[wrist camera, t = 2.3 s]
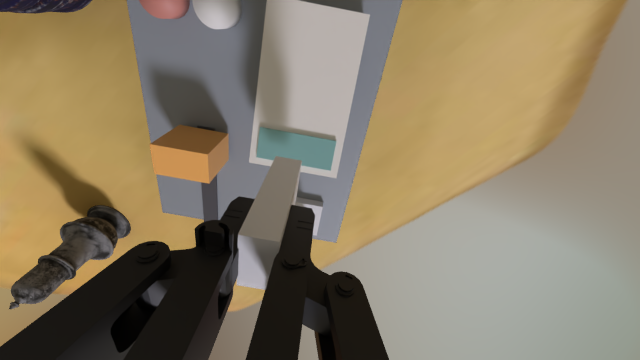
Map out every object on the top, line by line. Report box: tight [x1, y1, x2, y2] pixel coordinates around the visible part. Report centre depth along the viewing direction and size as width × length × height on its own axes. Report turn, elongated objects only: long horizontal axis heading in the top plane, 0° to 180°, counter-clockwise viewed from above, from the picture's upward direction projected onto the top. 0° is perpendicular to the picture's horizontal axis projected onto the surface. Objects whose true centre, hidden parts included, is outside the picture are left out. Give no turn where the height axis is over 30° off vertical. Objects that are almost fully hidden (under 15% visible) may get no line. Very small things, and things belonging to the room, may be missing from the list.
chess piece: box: [9, 205, 131, 309], centre depth 29 cm, size 6×6×12 cm
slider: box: [150, 125, 229, 184], centre depth 21 cm, size 2×4×4 cm, turn 80°
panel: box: [127, 0, 402, 243], centre depth 23 cm, size 22×18×6 cm
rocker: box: [249, 0, 370, 178], centre depth 18 cm, size 10×6×2 cm, turn 170°
